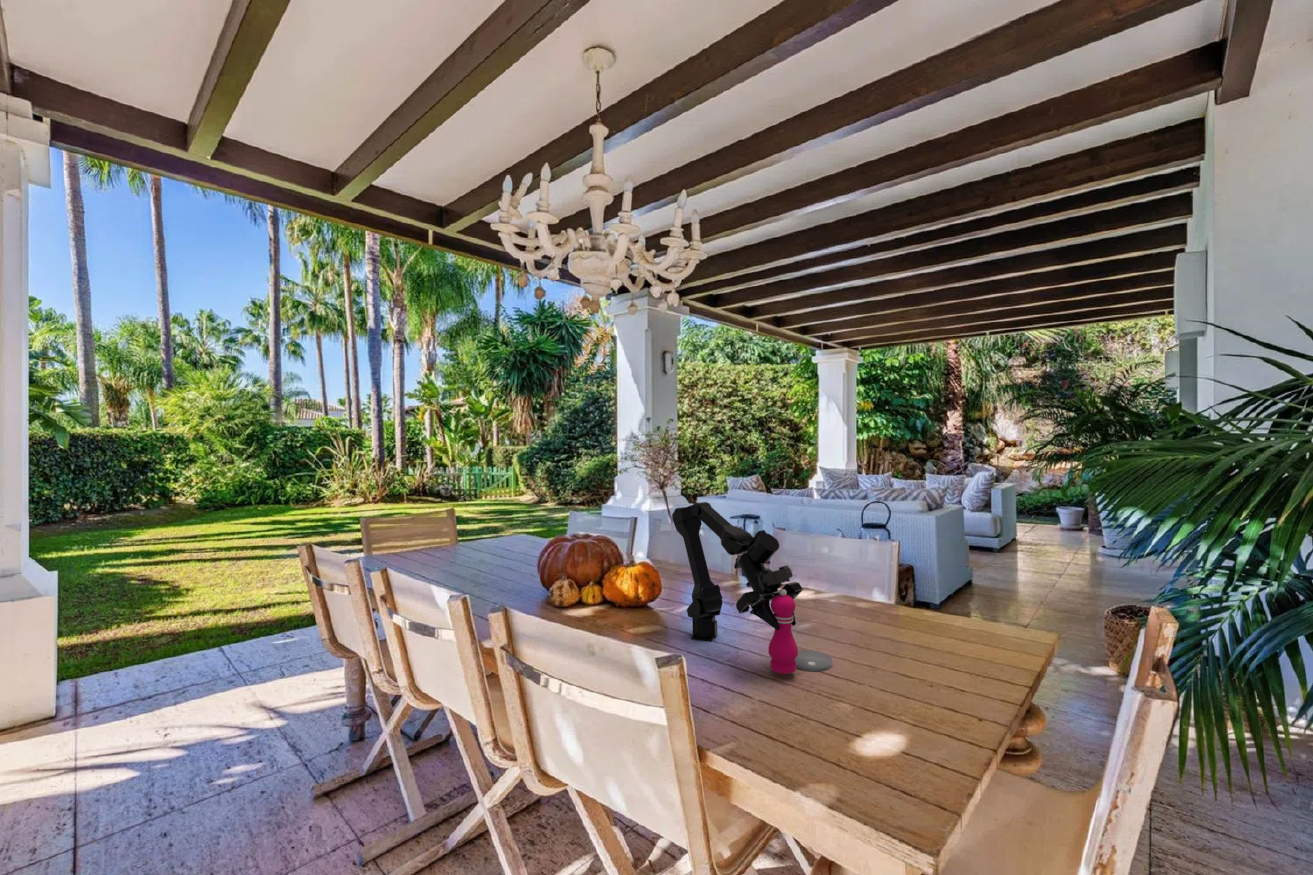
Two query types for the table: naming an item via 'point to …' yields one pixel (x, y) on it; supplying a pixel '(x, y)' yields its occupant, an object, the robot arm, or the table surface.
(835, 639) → the table surface
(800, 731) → the table surface
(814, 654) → the slate coaster
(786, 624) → the pepper mill
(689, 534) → the robot arm
